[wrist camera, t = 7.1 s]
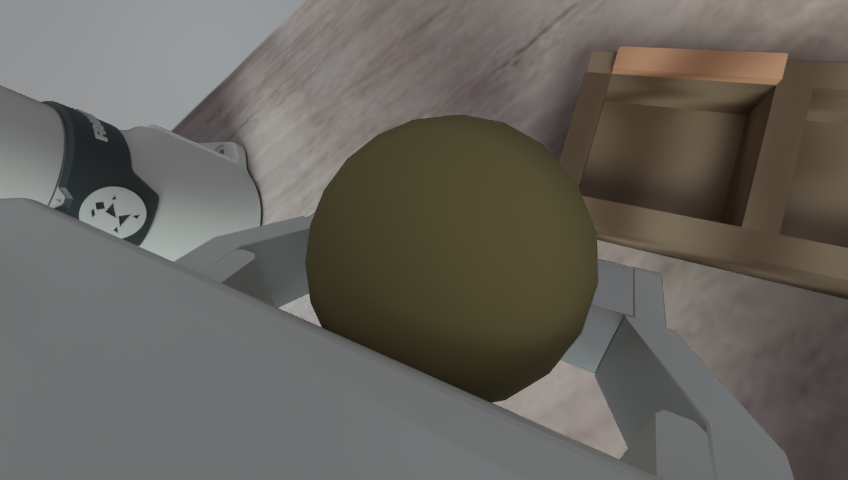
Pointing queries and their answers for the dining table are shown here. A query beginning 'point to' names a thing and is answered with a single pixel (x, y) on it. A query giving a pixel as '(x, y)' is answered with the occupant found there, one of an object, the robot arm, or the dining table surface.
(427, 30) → the dining table surface
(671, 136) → the spice rack
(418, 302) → the olive round-topped post
